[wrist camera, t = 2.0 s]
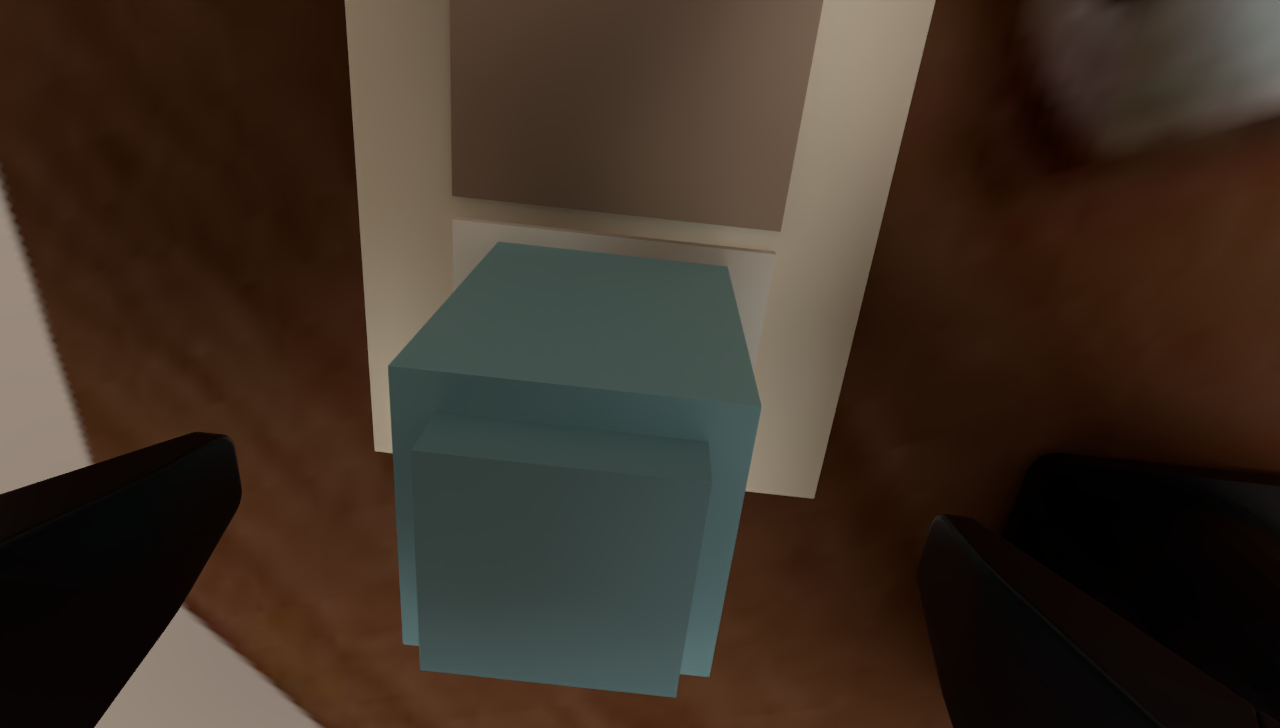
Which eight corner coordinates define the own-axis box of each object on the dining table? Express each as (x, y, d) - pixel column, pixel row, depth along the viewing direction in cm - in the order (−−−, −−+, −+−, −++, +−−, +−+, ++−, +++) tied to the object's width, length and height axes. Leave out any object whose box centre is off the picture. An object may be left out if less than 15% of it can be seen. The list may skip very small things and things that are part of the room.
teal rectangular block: (727, 266, 12) (771, 446, 7) (697, 461, 14) (711, 731, 8) (498, 241, 12) (357, 399, 7) (495, 440, 14) (378, 696, 8)
